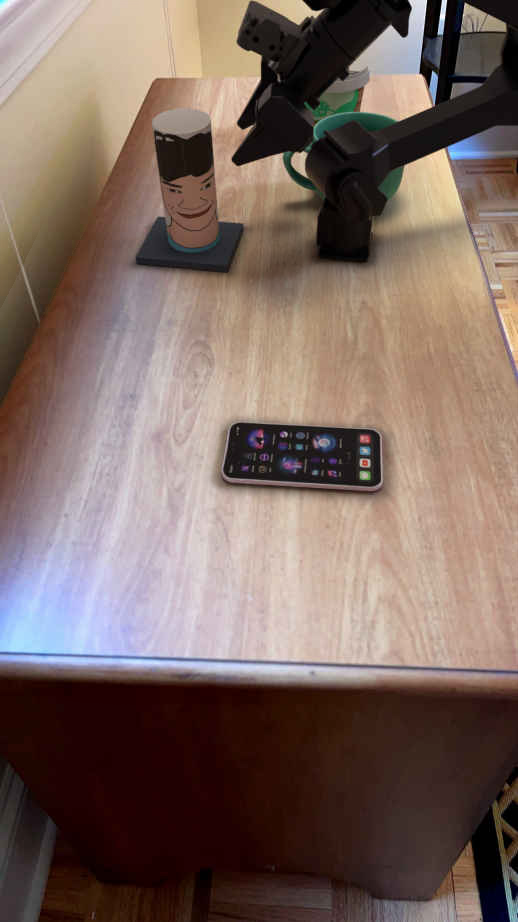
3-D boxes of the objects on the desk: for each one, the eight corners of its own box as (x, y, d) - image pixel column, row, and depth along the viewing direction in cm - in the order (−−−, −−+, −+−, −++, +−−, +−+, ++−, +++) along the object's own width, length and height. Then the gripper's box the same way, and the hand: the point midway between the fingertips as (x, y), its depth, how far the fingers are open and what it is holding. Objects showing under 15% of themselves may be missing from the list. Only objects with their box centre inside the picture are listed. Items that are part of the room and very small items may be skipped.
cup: (161, 249, 89) (143, 131, 77) (177, 222, 93) (163, 106, 82) (211, 255, 88) (200, 136, 76) (225, 227, 92) (217, 110, 80)
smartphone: (383, 488, 63) (220, 478, 64) (382, 492, 63) (220, 482, 64) (381, 428, 68) (230, 420, 69) (380, 433, 68) (230, 424, 69)
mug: (392, 175, 102) (400, 109, 95) (406, 220, 94) (417, 151, 87) (280, 180, 102) (280, 113, 95) (285, 225, 94) (285, 156, 86)
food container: (281, 141, 110) (281, 74, 102) (291, 125, 114) (292, 58, 106) (357, 150, 107) (363, 81, 100) (365, 133, 111) (371, 65, 104)
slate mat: (243, 230, 93) (243, 223, 92) (227, 272, 87) (227, 265, 86) (158, 222, 95) (157, 216, 94) (136, 263, 88) (135, 257, 88)
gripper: (285, -54, 73) (192, 60, 82) (280, 3, 61) (172, 130, 70) (353, 29, 79) (259, 127, 88) (362, 96, 67) (252, 202, 76)
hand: (236, 144), depth 80 cm, fingers open, 9 cm apart
